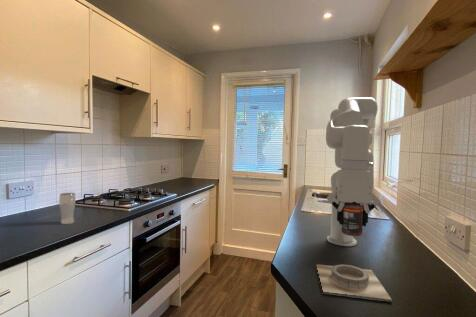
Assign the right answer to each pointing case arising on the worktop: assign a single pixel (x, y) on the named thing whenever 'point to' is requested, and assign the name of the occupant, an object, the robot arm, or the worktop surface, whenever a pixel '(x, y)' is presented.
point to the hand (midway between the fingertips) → (351, 223)
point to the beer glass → (67, 207)
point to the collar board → (351, 281)
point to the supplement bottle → (352, 219)
